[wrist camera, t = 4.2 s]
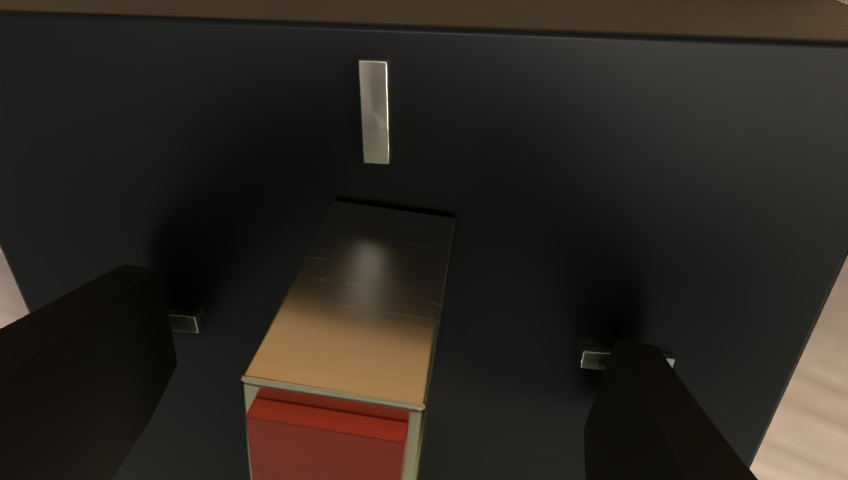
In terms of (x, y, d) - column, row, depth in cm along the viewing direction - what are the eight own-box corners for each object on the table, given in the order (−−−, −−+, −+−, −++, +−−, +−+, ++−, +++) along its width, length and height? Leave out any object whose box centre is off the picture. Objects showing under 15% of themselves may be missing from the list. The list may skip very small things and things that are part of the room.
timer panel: (166, 383, 16) (96, 488, 13) (40, -29, 11) (-119, 8, 8) (677, 434, 15) (715, 562, 12) (829, -6, 9) (957, 49, 7)
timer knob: (423, 445, 11) (388, 679, 8) (329, 429, 11) (257, 655, 8) (456, 216, 9) (422, 430, 5) (332, 198, 9) (227, 398, 5)
